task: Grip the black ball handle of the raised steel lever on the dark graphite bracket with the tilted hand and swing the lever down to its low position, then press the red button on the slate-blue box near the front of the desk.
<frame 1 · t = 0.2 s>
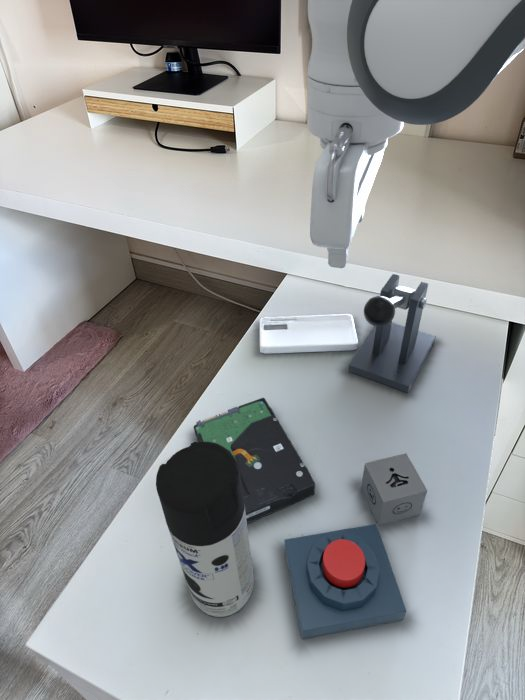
hand: (347, 240, 55), 24 cm above the table, tool pointing down, fingers open, 8 cm apart
spray can: (222, 584, 52), on the table
button box: (340, 582, 52), on the table
lever: (391, 304, 63), point 13 cm above the table, hinge at 25.0°
phone case: (307, 337, 80), on the table
bracket: (392, 356, 76), on the table
dice cube: (389, 501, 58), on the table
button: (343, 563, 49), point 4 cm above the table, slide at 0.1 cm
disk drive: (251, 464, 63), on the table
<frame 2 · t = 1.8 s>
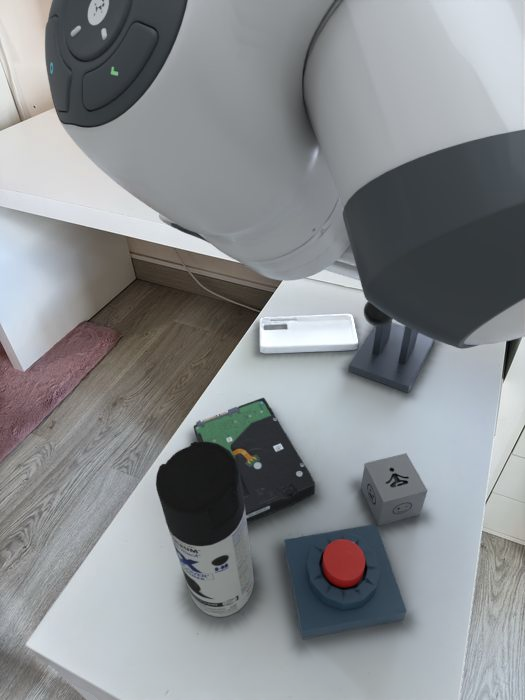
hand: (343, 263, 42), 29 cm above the table, tool tilted 45°, fingers open, 8 cm apart
nothing on the table moved.
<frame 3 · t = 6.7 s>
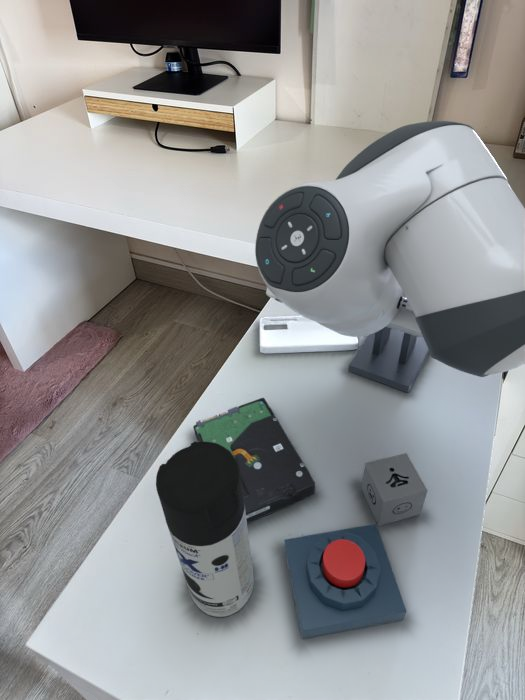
hand: (380, 312, 60), 15 cm above the table, tool tilted 45°, fingers closed on lever, 3 cm apart
lever: (391, 304, 63), point 13 cm above the table, hinge at 25.0°, touching gripper
everything else where it was.
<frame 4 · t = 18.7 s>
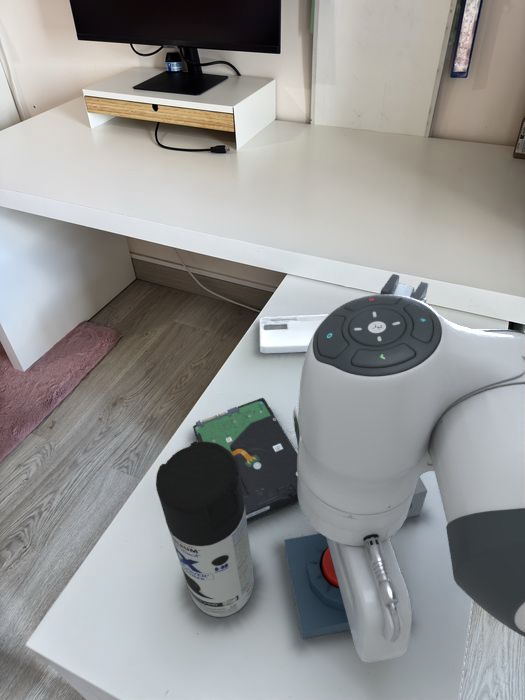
hand: (342, 561, 49), 5 cm above the table, tool pointing down, fingers closed, pressing on button
lever: (387, 335, 67), point 8 cm above the table, hinge at -32.4°
button: (343, 566, 49), point 4 cm above the table, slide at -0.6 cm, touching gripper
everything else where it was.
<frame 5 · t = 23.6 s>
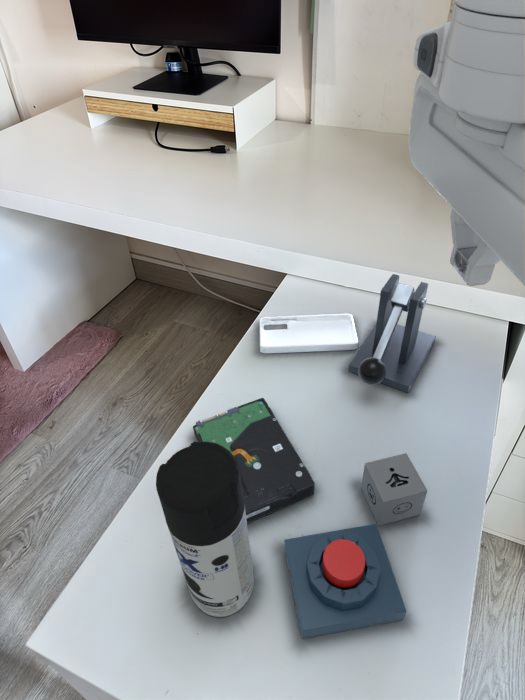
hand: (468, 274, 37), 31 cm above the table, tool pointing down, fingers closed
button: (343, 563, 49), point 4 cm above the table, slide at 0.1 cm
everything else where it was.
at the end: lever at -32° (first picture: +25°); button pushed in 1.0 cm at the most during the clip, back to where it started at the end; button slide at 0.1 cm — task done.
